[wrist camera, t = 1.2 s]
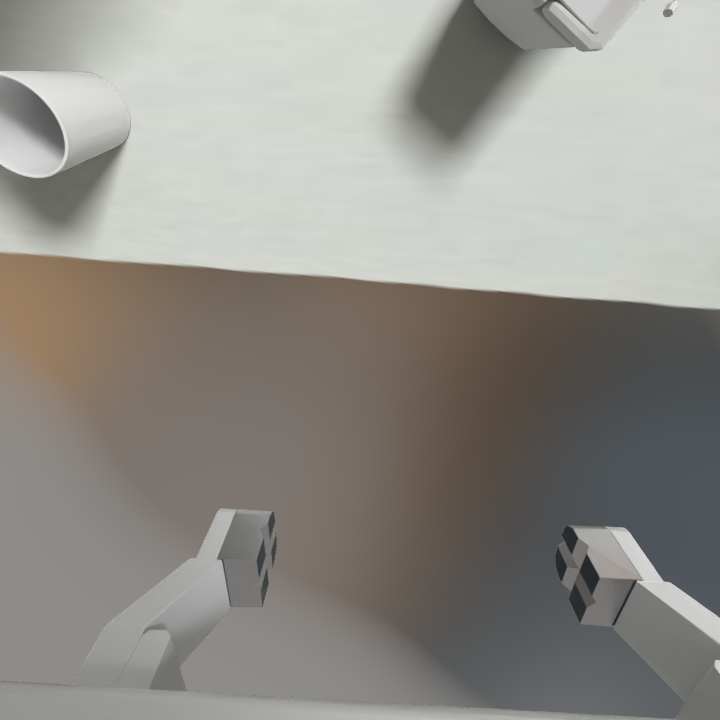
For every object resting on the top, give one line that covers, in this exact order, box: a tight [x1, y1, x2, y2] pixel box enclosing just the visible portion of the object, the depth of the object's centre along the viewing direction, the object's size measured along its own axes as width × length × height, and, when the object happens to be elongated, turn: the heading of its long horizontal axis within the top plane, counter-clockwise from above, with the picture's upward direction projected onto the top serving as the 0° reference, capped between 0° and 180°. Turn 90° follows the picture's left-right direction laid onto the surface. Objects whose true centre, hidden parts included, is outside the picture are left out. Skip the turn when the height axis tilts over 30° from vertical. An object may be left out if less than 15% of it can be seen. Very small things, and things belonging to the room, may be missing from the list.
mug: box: [0, 71, 131, 178], centre depth 34 cm, size 10×7×12 cm, turn 82°
